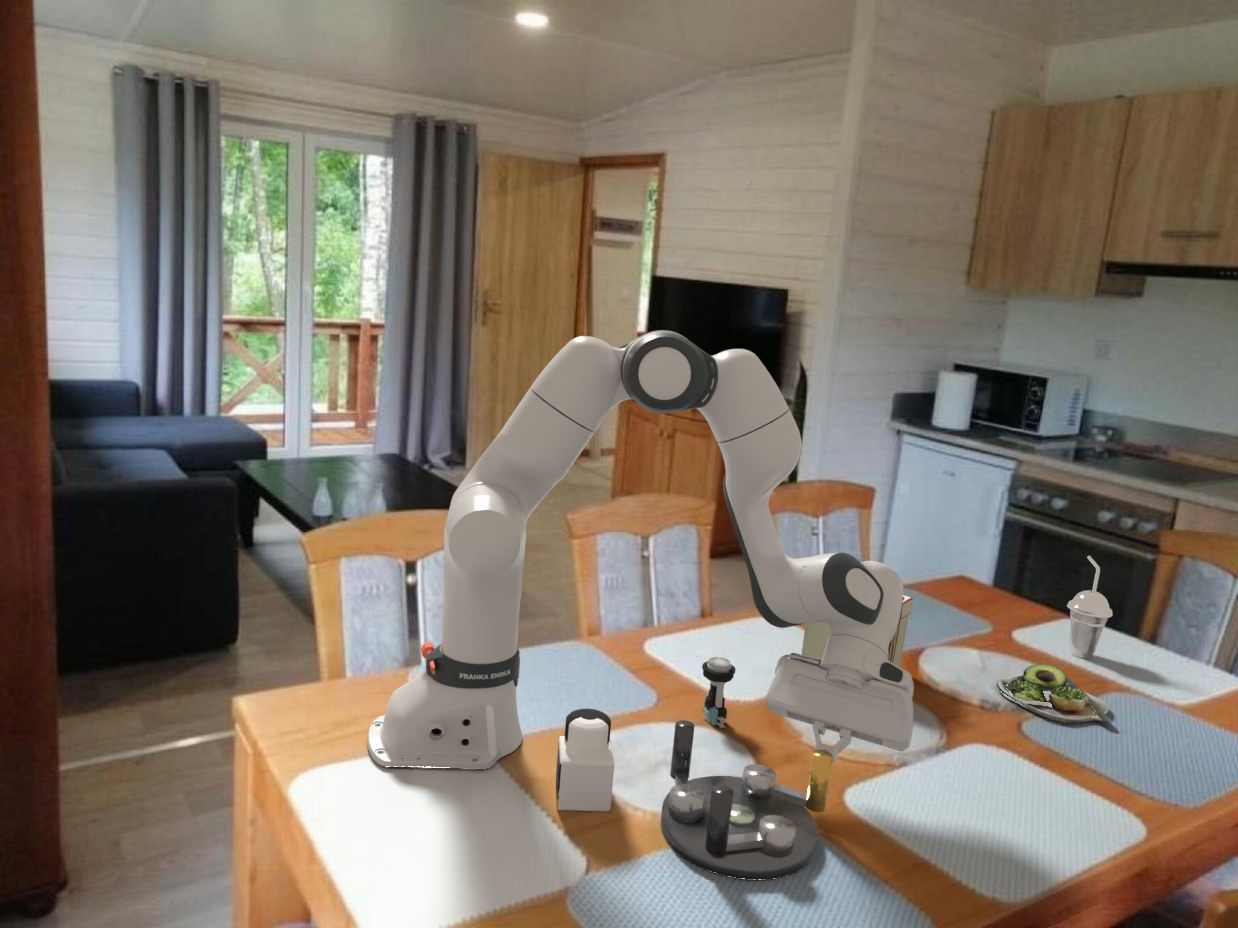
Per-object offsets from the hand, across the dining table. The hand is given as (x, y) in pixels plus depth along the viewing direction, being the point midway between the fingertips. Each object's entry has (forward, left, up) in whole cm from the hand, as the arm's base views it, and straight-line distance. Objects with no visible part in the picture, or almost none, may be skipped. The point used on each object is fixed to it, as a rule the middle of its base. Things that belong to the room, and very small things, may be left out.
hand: (824, 759), depth 126 cm
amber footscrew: (-6, -1, -5) cm, 8 cm away
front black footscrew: (-15, -10, -5) cm, 19 cm away
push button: (-4, +26, -8) cm, 27 cm away
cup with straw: (+86, +43, -8) cm, 96 cm away
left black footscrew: (-19, +2, -5) cm, 20 cm away
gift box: (+31, +43, -8) cm, 53 cm away
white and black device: (-31, +8, -8) cm, 33 cm away
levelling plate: (-13, -3, -7) cm, 16 cm away
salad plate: (+62, +25, -8) cm, 67 cm away
